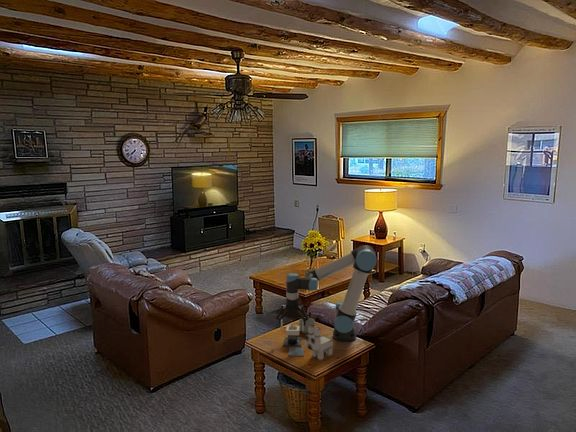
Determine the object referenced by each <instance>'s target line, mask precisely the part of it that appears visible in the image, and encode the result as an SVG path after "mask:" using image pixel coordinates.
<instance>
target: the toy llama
mask: <svg viewBox="0 0 576 432" xmlns="http://www.w3.org/2000/svg"><path fill="white" fill-rule="evenodd" d="M304 338H305V339H304V342H305V346H304V348H306V349H309V350H310V351H311V357H312V358H314V359H315V358H317V360H318V361H320V362H321V361H323V360H324V359H325V358H324V354H326V355H325V356H328V358H329V357H332V356H333V339H332V338H331V337H328V336H326V335H321V328H320V327H316V326H315V328H314V325H309V326H308V333H306V334H305V335H304Z"/></svg>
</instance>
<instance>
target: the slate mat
mask: <svg viewBox="0 0 576 432" xmlns="http://www.w3.org/2000/svg"><path fill="white" fill-rule="evenodd" d="M304 353H305V347H289V349H288V357H304Z"/></svg>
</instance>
